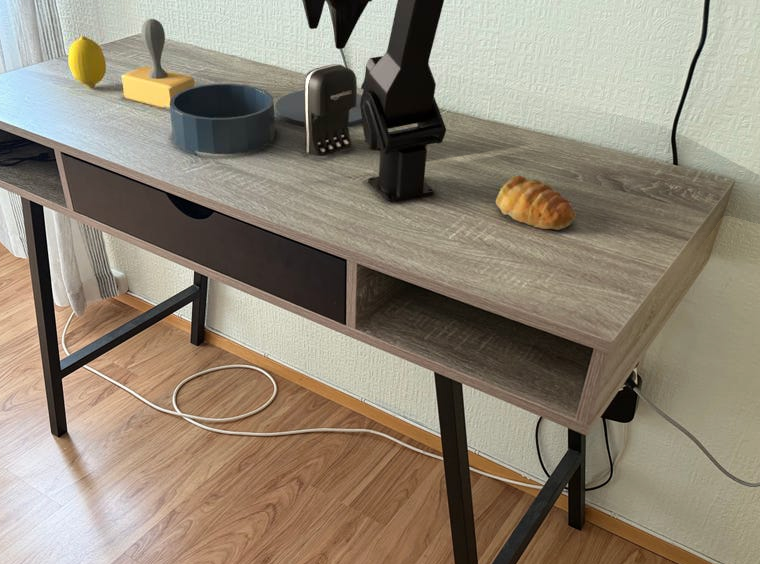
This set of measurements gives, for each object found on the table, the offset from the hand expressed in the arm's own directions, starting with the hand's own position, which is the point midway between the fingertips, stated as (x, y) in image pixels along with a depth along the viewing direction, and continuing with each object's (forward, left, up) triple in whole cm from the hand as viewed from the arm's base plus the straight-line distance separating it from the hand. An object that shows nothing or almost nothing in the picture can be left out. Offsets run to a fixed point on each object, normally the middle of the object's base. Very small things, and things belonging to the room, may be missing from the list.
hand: (326, 38), depth 110 cm
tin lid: (+8, -3, -13) cm, 15 cm away
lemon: (+31, +28, -14) cm, 44 cm away
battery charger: (-6, +2, -14) cm, 15 cm away
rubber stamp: (+22, +19, -14) cm, 32 cm away
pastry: (-32, -14, -14) cm, 38 cm away
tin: (+4, +14, -13) cm, 20 cm away
